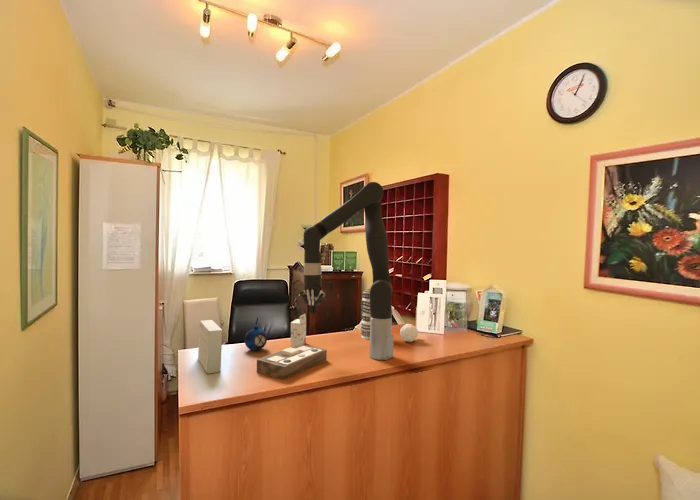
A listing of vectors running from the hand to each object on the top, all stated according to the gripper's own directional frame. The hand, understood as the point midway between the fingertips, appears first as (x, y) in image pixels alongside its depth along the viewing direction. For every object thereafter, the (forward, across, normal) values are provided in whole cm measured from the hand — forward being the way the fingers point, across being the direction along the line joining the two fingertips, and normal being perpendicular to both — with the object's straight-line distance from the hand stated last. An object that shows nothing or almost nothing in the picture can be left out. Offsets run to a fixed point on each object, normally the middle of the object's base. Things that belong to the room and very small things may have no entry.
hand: (313, 313), depth 148 cm
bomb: (+18, +26, +8) cm, 33 cm away
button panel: (+18, 0, +14) cm, 23 cm away
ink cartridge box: (+18, +16, -9) cm, 26 cm away
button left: (+16, +1, +21) cm, 27 cm away
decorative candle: (+19, -5, -41) cm, 46 cm away
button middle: (+15, +1, +13) cm, 20 cm away
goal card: (+14, -5, +14) cm, 20 cm away
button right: (+17, +1, +5) cm, 18 cm away
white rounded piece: (+20, -26, -47) cm, 57 cm away
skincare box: (+18, +28, +31) cm, 45 cm away
